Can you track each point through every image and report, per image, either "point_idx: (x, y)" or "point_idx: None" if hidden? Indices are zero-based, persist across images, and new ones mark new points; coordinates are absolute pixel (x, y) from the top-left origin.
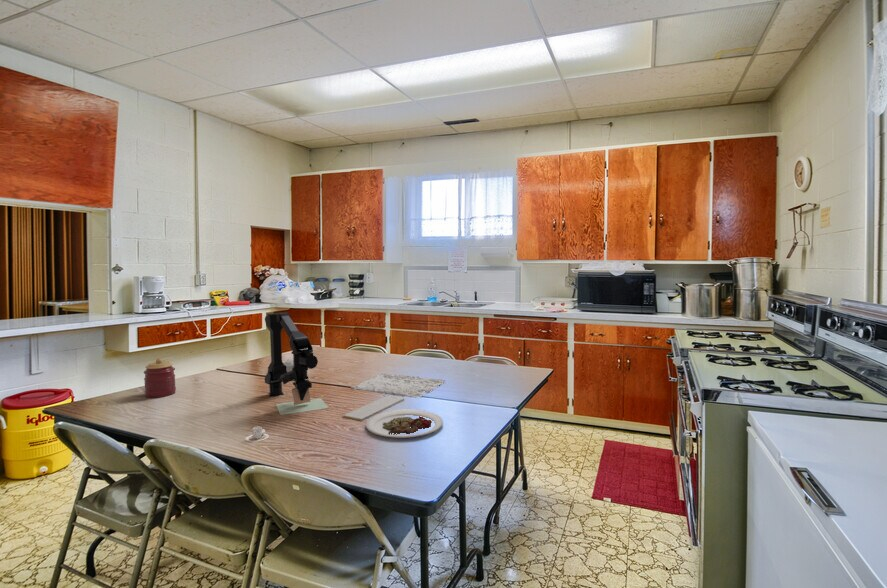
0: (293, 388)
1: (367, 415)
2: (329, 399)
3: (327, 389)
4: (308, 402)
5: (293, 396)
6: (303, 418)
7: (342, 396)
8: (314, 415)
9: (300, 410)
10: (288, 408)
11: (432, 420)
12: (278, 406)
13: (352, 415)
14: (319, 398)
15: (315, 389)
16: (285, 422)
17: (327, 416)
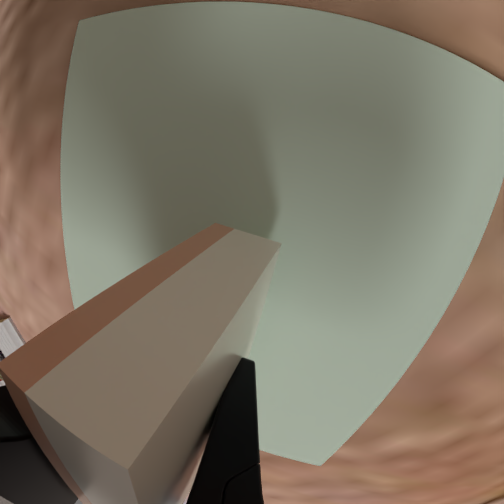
0: (122, 487)
1: (6, 356)
2: (272, 467)
3: (439, 501)
4: (285, 389)
5: (128, 280)
6: (5, 173)
7: (273, 496)
8: (24, 248)
9: (90, 214)
10: (213, 128)
11: (2, 384)
12: (404, 53)
13: (3, 336)
14: (319, 460)
15: (499, 475)
16: (3, 62)
17: (12, 285)
